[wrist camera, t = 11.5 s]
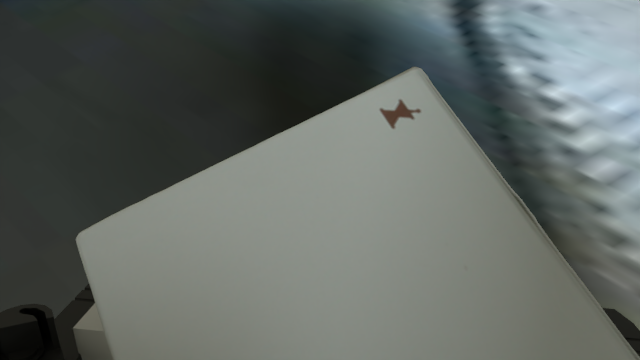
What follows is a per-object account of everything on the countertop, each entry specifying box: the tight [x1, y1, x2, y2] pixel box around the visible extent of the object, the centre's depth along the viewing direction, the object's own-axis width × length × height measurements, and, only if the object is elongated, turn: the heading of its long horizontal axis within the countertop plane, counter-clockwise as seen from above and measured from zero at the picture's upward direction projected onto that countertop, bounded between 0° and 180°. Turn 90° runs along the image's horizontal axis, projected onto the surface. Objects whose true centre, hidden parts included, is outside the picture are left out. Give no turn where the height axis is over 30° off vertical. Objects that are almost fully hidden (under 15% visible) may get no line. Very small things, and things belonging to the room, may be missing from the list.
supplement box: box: [76, 67, 640, 360], centre depth 13 cm, size 7×7×13 cm
